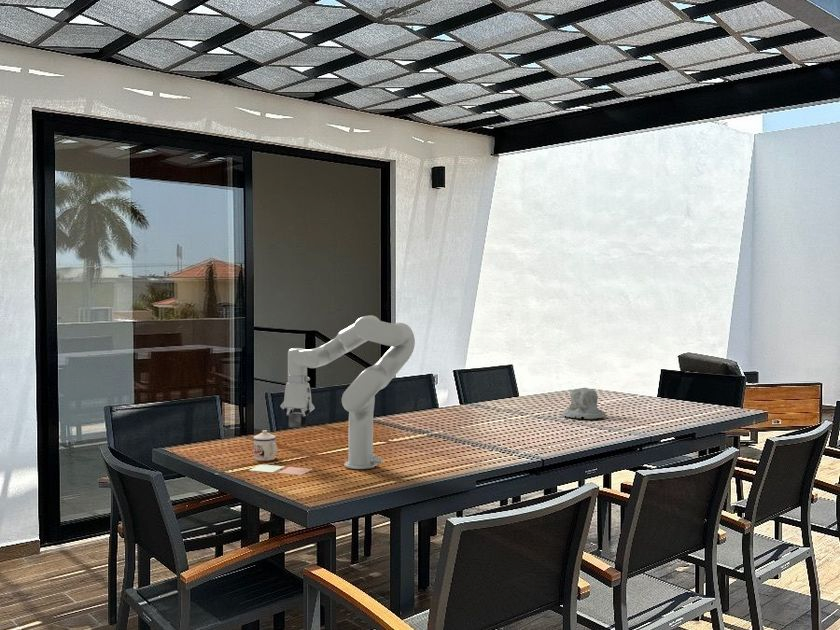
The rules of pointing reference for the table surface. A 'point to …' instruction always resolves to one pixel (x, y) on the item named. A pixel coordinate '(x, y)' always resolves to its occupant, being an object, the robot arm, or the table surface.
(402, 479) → the table surface
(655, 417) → the table surface
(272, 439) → the teacup with lid
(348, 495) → the table surface
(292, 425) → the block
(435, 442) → the table surface
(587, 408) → the hat
